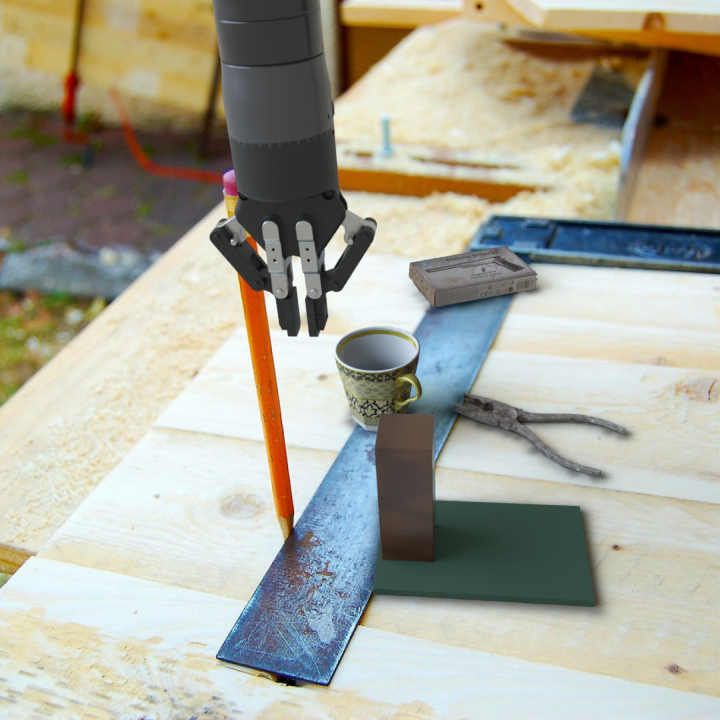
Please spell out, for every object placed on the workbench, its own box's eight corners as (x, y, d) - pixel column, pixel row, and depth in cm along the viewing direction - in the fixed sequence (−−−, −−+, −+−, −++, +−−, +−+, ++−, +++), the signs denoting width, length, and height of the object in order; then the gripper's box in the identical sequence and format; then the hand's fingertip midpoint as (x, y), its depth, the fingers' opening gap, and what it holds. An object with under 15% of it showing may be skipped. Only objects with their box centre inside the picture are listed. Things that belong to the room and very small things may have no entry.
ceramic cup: (324, 413, 95) (317, 345, 90) (388, 383, 100) (385, 317, 94) (387, 466, 86) (383, 395, 81) (454, 431, 91) (455, 361, 85)
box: (407, 279, 123) (407, 261, 121) (505, 260, 127) (506, 243, 125) (433, 310, 114) (434, 292, 112) (537, 290, 118) (539, 272, 117)
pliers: (617, 474, 81) (437, 437, 88) (616, 480, 82) (437, 443, 89) (627, 421, 89) (460, 390, 96) (626, 427, 89) (460, 396, 96)
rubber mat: (578, 511, 79) (579, 505, 78) (594, 606, 69) (595, 600, 68) (385, 503, 81) (385, 497, 81) (373, 594, 72) (372, 588, 71)
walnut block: (435, 524, 77) (434, 414, 70) (433, 562, 73) (432, 449, 66) (386, 522, 78) (380, 413, 70) (381, 559, 74) (374, 448, 66)
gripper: (171, 141, 52) (213, 355, 61) (369, 136, 50) (382, 358, 59) (203, 110, 58) (237, 309, 67) (381, 104, 56) (390, 310, 66)
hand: (305, 331), depth 63 cm, fingers closed
